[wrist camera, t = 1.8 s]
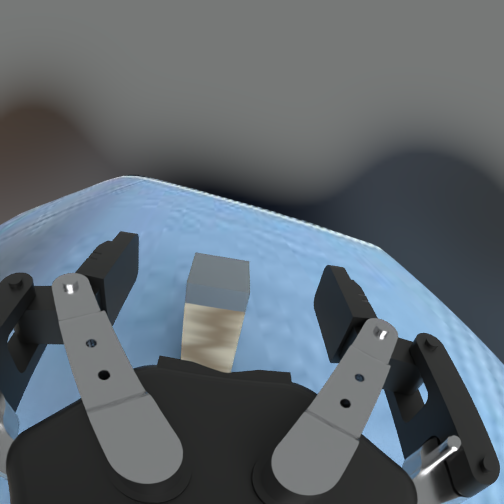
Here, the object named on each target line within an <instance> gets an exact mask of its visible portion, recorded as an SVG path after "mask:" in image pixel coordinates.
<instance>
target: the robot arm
mask: <svg viewBox="0 0 504 504" xmlns="http://www.w3.org/2000/svg"><path fill="white" fill-rule="evenodd" d="M138 253H139V237H138V234H135V233H128V232H122V231H121V232H119V234H118V235H117V236H116V237H115V238H114V240H113V241H106V242H104V243H102V244H100V245H98V247H97V248H96V249H95V250H94V251H93V253H92V254H91V255H90V256H89V258H87V259H86V261H85V262H84V263H83V264H82V265H81V266H80V268H79V269H78V270H77V271H76V273H68V274H64V275H61V276H59V277H58V278H56V279H55V280H54V282H53V283H52V286H34V283H33V279H32V277H31V276H30V275H29V274H26V273H14V274H11V275H9V276H7V277H6V278H4V279H3V280H2V281H1V283H0V477H2V478H4V479H6V480H8V485H9V492H10V503H11V504H460V503H462V502H464V501H466V500H467V499H469V498H471V497H472V496H474V495H476V494H477V493H479V492H480V491H482V490H483V489H485V488H486V487H488V486H489V485H491V484H492V483H494V482H495V481H496V480H497V478H498V476H499V473H500V465H499V461H498V458H497V456H496V453H495V450H494V448H493V445H492V443H491V440H490V438H489V436H488V433H487V431H486V429H485V426H484V424H483V422H482V420H481V417H480V415H479V413H478V411H477V409H476V407H475V405H474V403H473V400H472V398H471V396H470V394H469V392H468V390H467V388H466V386H465V384H464V382H463V381H462V379H461V377H460V375H459V373H458V371H457V369H456V367H455V365H454V364H453V362H452V360H451V358H450V356H449V355H448V353H447V351H446V349H445V348H444V346H443V344H442V343H441V342H440V341H439V340H438V339H437V338H436V337H434V336H432V335H430V334H427V333H420V334H418V335H417V337H416V338H415V340H414V341H413V342H411V341H408V340H405V339H401V338H398V333H397V331H396V329H395V328H394V327H393V326H392V325H391V324H390V323H388V322H386V321H384V320H382V319H378V318H377V316H376V314H375V312H374V310H373V308H372V307H371V305H370V303H369V302H368V299H367V297H366V296H365V294H364V292H363V290H362V288H361V287H360V286H359V285H358V284H357V283H356V282H355V281H354V280H351V279H350V277H349V275H348V274H347V272H346V270H345V268H343V267H338V266H331V265H327V266H326V267H325V269H324V272H323V274H322V277H321V280H320V283H319V286H318V288H317V291H316V294H315V298H314V310H315V313H316V316H317V319H318V323H319V326H320V329H321V333H322V336H323V340H324V343H325V347H326V350H327V353H328V357H329V360H330V363H339V364H338V366H337V367H336V369H335V370H334V372H333V373H332V375H331V376H330V378H329V379H328V381H327V382H326V383H325V385H324V386H323V388H322V389H321V391H320V392H319V393H318V394H316V393H315V392H313V391H312V390H310V389H308V388H306V387H304V386H302V385H299V384H296V383H293V382H292V381H291V374H290V372H277V371H265V370H254V371H243V372H231V373H225V372H221V371H218V370H215V369H212V368H209V367H206V366H203V365H201V364H198V363H195V362H192V361H187V360H181V359H175V358H170V357H164V356H159V360H158V364H157V365H148V366H142V367H137V368H134V369H133V368H132V366H131V364H130V362H129V360H128V358H127V356H126V354H125V352H124V350H123V348H122V346H121V344H120V342H119V340H118V338H117V336H116V334H115V332H114V330H113V327H112V326H113V324H114V322H115V320H116V318H117V316H118V314H119V312H120V310H121V308H122V306H123V304H124V302H125V300H126V298H127V296H128V294H129V292H130V290H131V289H132V287H133V285H134V283H135V281H136V278H137V274H138ZM13 328H14V331H15V332H14V334H13V335H12V337H11V338H10V340H9V342H8V343H7V341H8V337H9V334H10V333H11V331H12V330H13ZM47 344H64V345H65V349H66V352H67V356H68V359H69V363H70V366H71V369H72V372H73V375H74V378H75V381H76V384H77V387H78V390H79V393H80V396H81V398H80V399H79V400H77V401H75V402H74V403H72V404H70V405H68V406H67V407H65V408H63V409H62V410H60V411H58V412H56V413H55V414H53V415H51V416H49V417H48V418H46V419H44V420H42V421H41V422H39V423H37V424H35V425H34V426H32V427H30V428H28V429H26V430H25V431H23V432H22V433H20V434H19V435H18V432H19V419H18V417H17V415H16V413H15V412H16V410H17V407H18V405H19V403H20V400H21V398H22V396H23V393H24V391H25V389H26V387H27V385H28V382H29V380H30V378H31V376H32V374H33V372H34V370H35V368H36V366H37V364H38V362H39V360H40V358H41V356H42V354H43V352H44V350H45V348H46V346H47ZM423 382H424V384H425V386H426V389H427V391H428V399H427V402H426V404H425V405H424V402H423V400H422V397H421V395H420V392H419V390H418V388H419V387H420V386H421V385H422V383H423ZM382 389H384V391H385V394H386V397H387V400H388V403H389V407H390V410H391V413H392V416H393V420H394V423H395V427H396V430H397V434H398V437H399V441H400V444H401V448H402V452H403V455H404V459H405V461H404V463H403V465H402V468H401V467H400V466H399V465H398V464H397V463H395V462H394V461H393V460H392V459H391V458H389V457H388V456H387V455H386V454H385V453H383V452H382V451H381V450H380V449H379V448H377V447H376V446H375V445H374V444H373V443H372V442H370V441H369V440H368V439H367V438H366V437H365V436H364V435H362V434H361V433H362V431H363V429H364V427H365V425H366V423H367V421H368V419H369V417H370V415H371V412H372V410H373V408H374V406H375V404H376V401H377V399H378V397H379V394H380V392H381V390H382Z"/></svg>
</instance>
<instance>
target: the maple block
mask: <svg viewBox="0 0 504 504" xmlns="http://www.w3.org/2000/svg"><path fill="white" fill-rule="evenodd" d="M249 295H250V275H249V261H244V260H237V259H231V258H225V257H219V256H213V255H207V254H201V253H195V256H194V260H193V263H192V266H191V270H190V273H189V277H188V280H187V285H186V296H185V307H184V319H183V333H182V347H181V360H187V361H192V362H195V363H198V364H201V365H203V366H206V367H209V368H212V369H215V370H218V371H221V372H225V373H231V369H232V365H233V361H234V356H235V352H236V348H237V344H238V340H239V336H240V332H241V328H242V324H243V320H244V316H245V311H246V307H247V303H248V299H249Z"/></svg>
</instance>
